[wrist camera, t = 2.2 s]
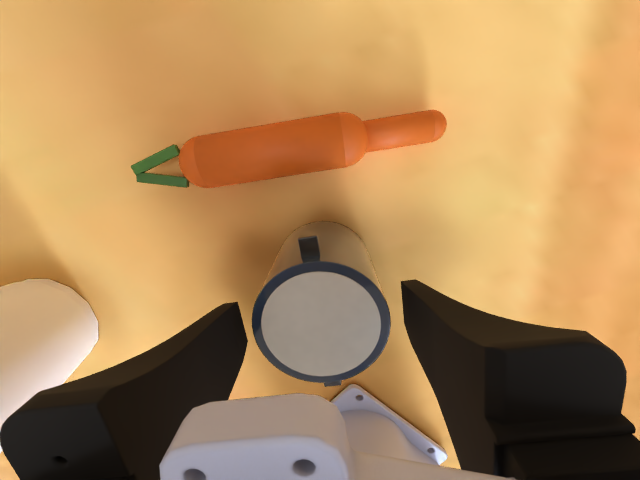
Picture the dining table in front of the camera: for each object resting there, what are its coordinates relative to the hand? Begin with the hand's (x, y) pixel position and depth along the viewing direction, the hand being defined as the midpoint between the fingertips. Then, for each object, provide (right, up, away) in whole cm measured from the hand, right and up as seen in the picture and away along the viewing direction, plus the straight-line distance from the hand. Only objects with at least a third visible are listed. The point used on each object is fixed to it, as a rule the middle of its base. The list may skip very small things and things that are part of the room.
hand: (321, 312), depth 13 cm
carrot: (-1, +8, +3) cm, 9 cm away
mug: (0, +2, +5) cm, 6 cm away
